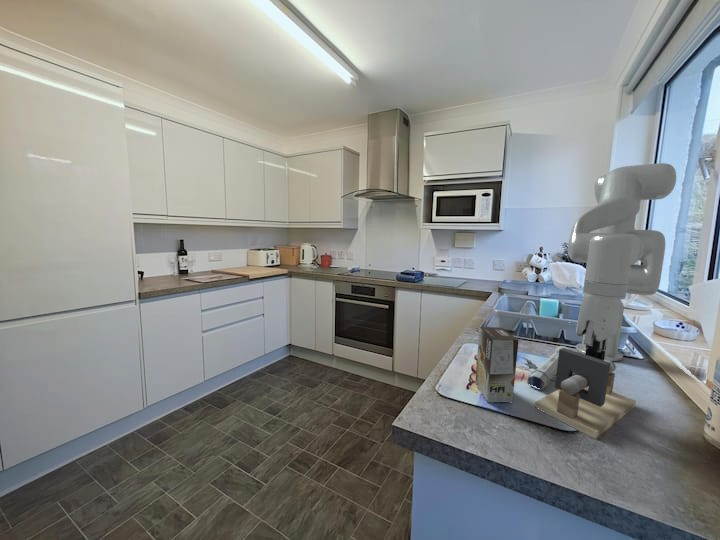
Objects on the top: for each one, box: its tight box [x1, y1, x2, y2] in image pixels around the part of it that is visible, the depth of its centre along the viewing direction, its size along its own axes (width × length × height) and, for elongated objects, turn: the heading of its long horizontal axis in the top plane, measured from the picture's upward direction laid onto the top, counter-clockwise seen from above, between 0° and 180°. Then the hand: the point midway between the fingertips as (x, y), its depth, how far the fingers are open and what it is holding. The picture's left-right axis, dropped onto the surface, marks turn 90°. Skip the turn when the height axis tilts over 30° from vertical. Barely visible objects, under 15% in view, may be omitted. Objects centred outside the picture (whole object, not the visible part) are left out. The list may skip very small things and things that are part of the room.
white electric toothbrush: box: [527, 345, 569, 390], centre depth 86 cm, size 5×7×25 cm
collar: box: [554, 348, 610, 407], centre depth 66 cm, size 2×9×10 cm, turn 32°
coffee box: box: [474, 326, 519, 403], centre depth 74 cm, size 9×6×16 cm
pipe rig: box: [534, 360, 637, 440], centre depth 70 cm, size 22×12×10 cm, turn 122°
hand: (593, 365), depth 69 cm, fingers closed
